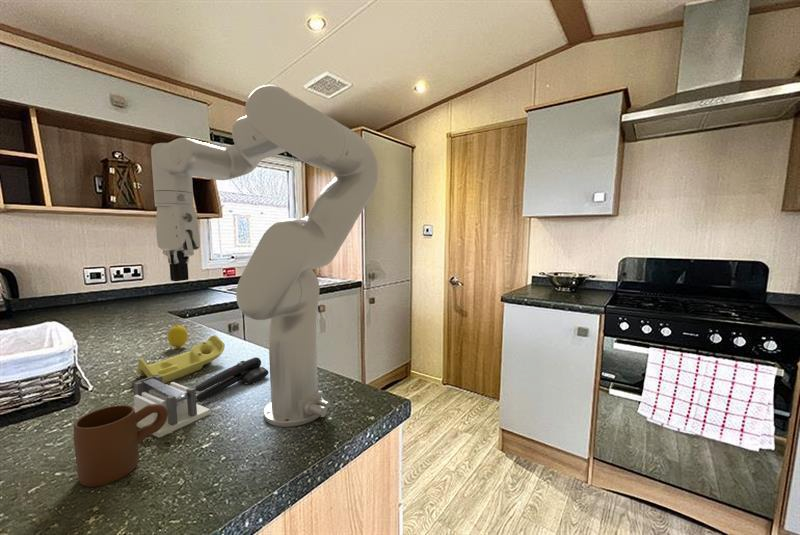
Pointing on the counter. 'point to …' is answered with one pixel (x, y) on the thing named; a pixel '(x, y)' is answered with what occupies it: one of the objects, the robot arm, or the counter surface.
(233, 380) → the can opener
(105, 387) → the counter surface
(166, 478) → the counter surface
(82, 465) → the mug
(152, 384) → the grey long flat bar
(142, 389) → the heatsink board
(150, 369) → the plastic component
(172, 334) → the lemon
